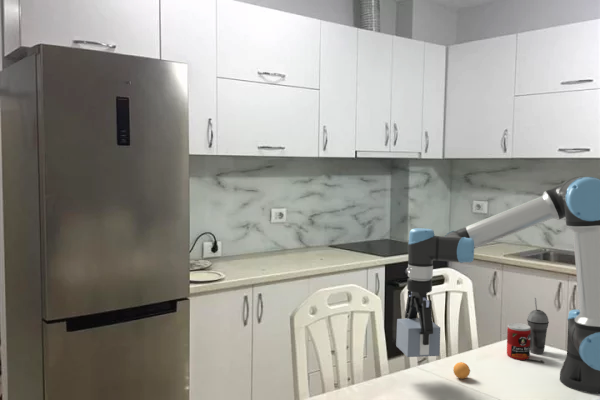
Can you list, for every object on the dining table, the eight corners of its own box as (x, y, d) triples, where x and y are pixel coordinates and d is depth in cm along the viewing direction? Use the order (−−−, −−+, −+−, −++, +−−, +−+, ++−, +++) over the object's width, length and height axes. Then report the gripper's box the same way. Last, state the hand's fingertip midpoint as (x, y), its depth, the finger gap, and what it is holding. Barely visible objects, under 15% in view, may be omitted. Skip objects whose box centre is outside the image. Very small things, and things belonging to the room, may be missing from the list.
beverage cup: (550, 356, 193) (552, 301, 192) (528, 354, 195) (530, 299, 193) (545, 349, 200) (547, 296, 199) (524, 348, 202) (525, 295, 201)
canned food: (511, 360, 190) (512, 329, 189) (503, 352, 198) (504, 322, 197) (533, 360, 189) (534, 329, 189) (524, 352, 197) (525, 322, 197)
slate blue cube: (426, 344, 176) (427, 318, 175) (439, 355, 166) (440, 327, 165) (396, 345, 174) (397, 318, 174) (407, 357, 164) (408, 328, 164)
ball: (467, 375, 175) (468, 360, 175) (471, 381, 170) (471, 365, 170) (451, 374, 176) (452, 359, 175) (454, 380, 171) (455, 365, 171)
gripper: (396, 271, 179) (393, 337, 181) (422, 286, 157) (419, 362, 158) (417, 270, 180) (415, 336, 182) (446, 286, 158) (443, 361, 160)
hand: (417, 348), depth 170 cm, fingers closed on slate blue cube, 10 cm apart
